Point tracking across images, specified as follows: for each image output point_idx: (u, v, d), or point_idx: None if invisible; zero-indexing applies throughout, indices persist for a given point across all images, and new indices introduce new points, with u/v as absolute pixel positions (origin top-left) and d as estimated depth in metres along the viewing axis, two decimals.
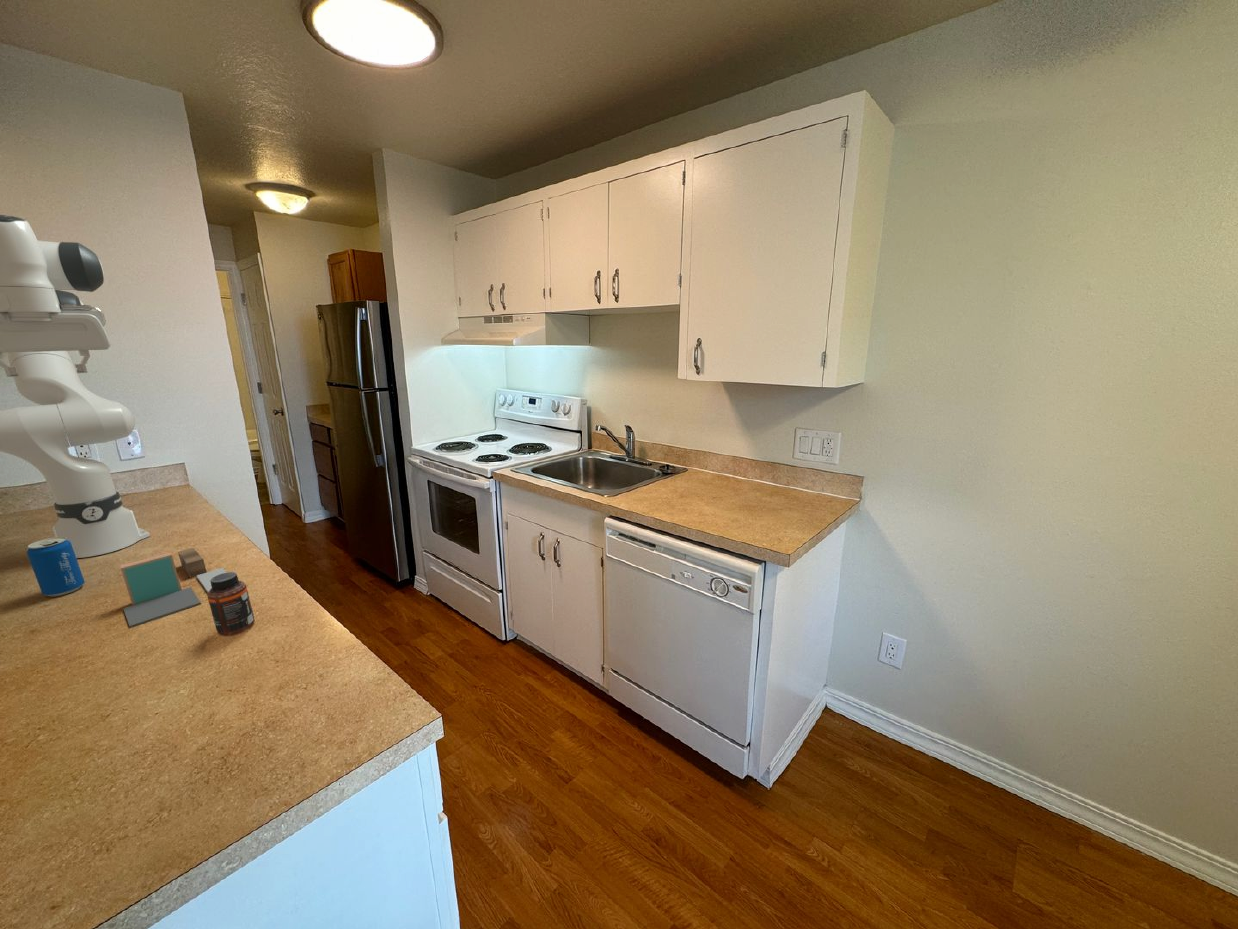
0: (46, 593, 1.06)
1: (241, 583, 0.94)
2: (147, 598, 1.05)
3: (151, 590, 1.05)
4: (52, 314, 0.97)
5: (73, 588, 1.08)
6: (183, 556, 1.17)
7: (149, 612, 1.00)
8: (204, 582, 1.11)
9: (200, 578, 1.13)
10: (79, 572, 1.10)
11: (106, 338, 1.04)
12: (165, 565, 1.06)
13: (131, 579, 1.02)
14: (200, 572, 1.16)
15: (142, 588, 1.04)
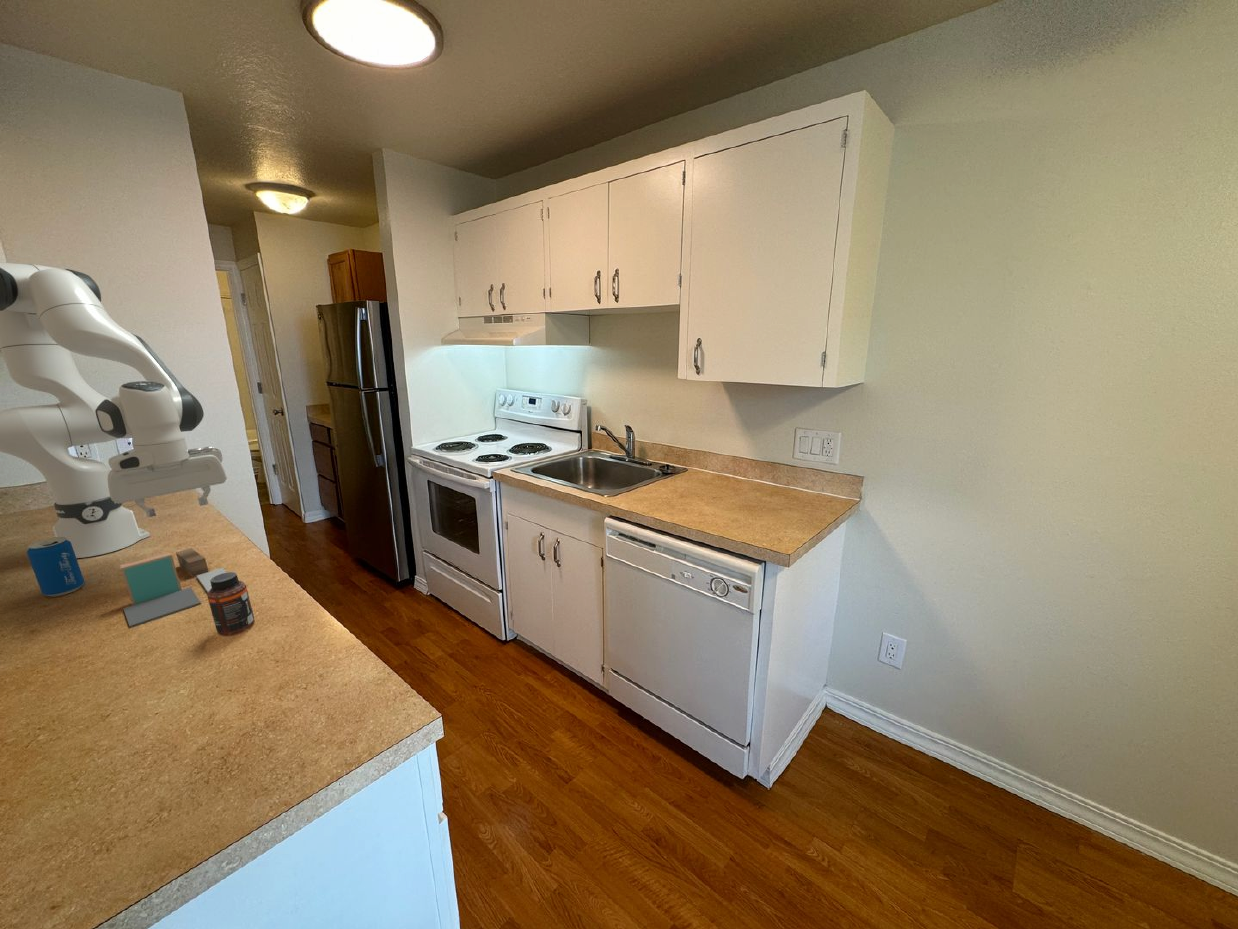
0: (46, 593, 1.06)
1: (241, 583, 0.94)
2: (147, 598, 1.05)
3: (151, 590, 1.05)
4: (183, 460, 1.13)
5: (73, 588, 1.08)
6: (183, 556, 1.17)
7: (149, 612, 1.00)
8: (204, 582, 1.11)
9: (200, 578, 1.13)
10: (79, 572, 1.10)
11: (224, 473, 1.19)
12: (165, 565, 1.06)
13: (131, 579, 1.02)
14: (202, 571, 1.16)
15: (142, 588, 1.04)
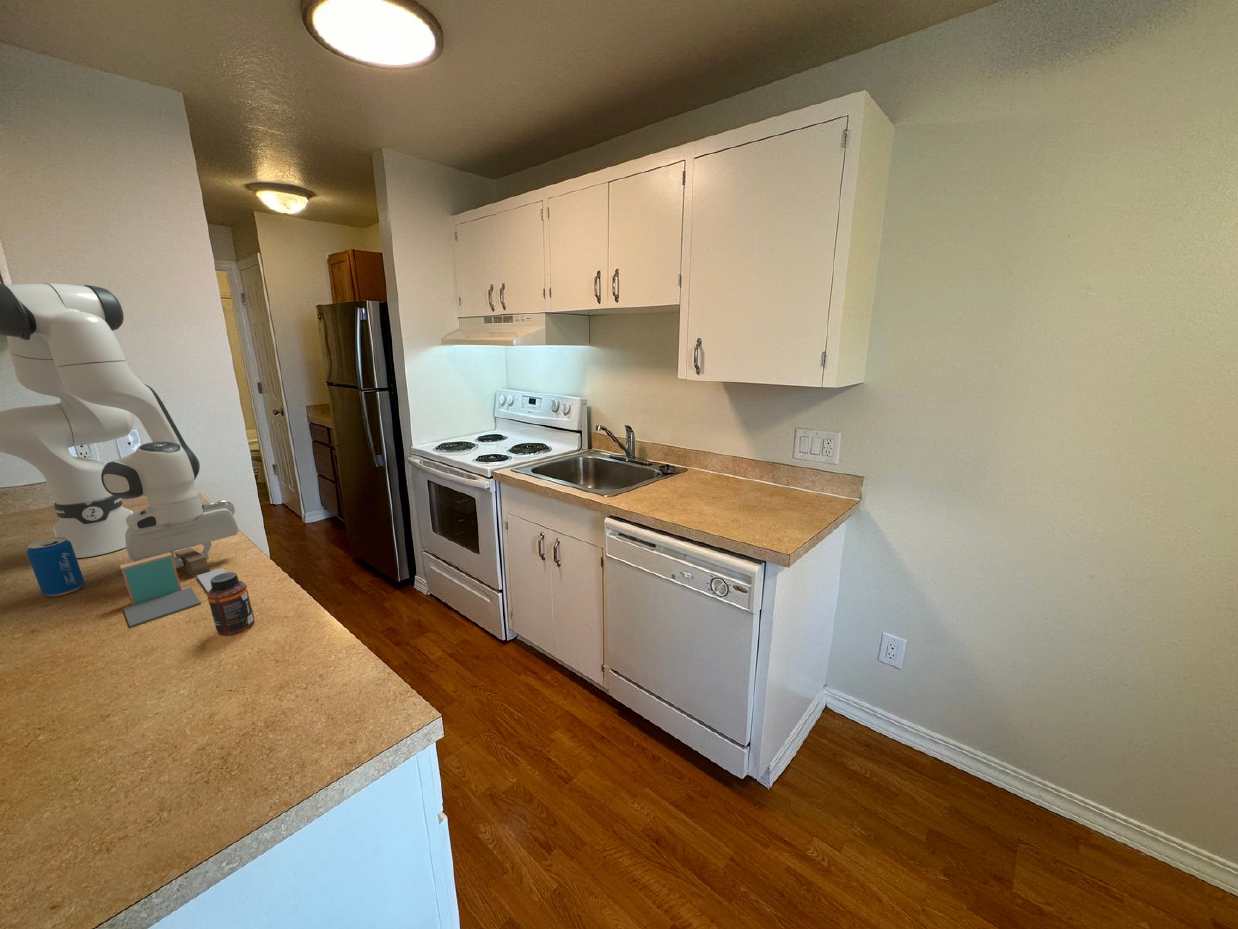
0: (46, 593, 1.06)
1: (241, 583, 0.94)
2: (147, 598, 1.05)
3: (151, 590, 1.05)
4: (197, 516, 1.16)
5: (73, 588, 1.08)
6: (183, 555, 1.17)
7: (149, 612, 1.00)
8: (204, 582, 1.11)
9: (200, 578, 1.13)
10: (79, 572, 1.10)
11: (236, 526, 1.22)
12: (165, 565, 1.06)
13: (131, 579, 1.02)
14: (203, 570, 1.16)
15: (142, 588, 1.04)
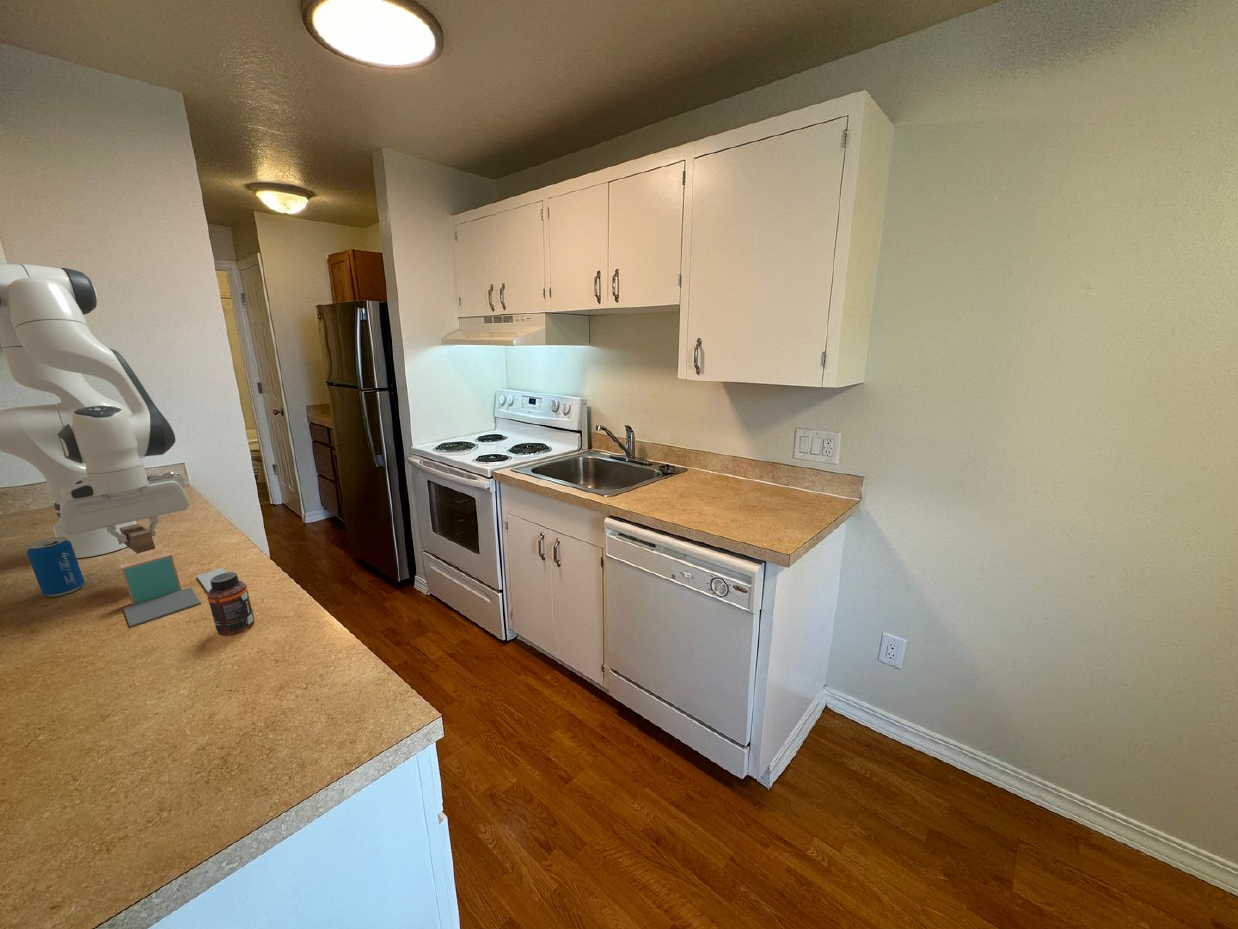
0: (46, 593, 1.06)
1: (241, 583, 0.94)
2: (147, 598, 1.05)
3: (151, 590, 1.05)
4: (142, 487, 1.08)
5: (73, 588, 1.08)
6: (126, 531, 1.08)
7: (149, 612, 1.00)
8: (204, 582, 1.11)
9: (200, 578, 1.13)
10: (79, 572, 1.10)
11: (186, 500, 1.14)
12: (165, 565, 1.06)
13: (131, 579, 1.02)
14: (147, 546, 1.07)
15: (142, 588, 1.04)
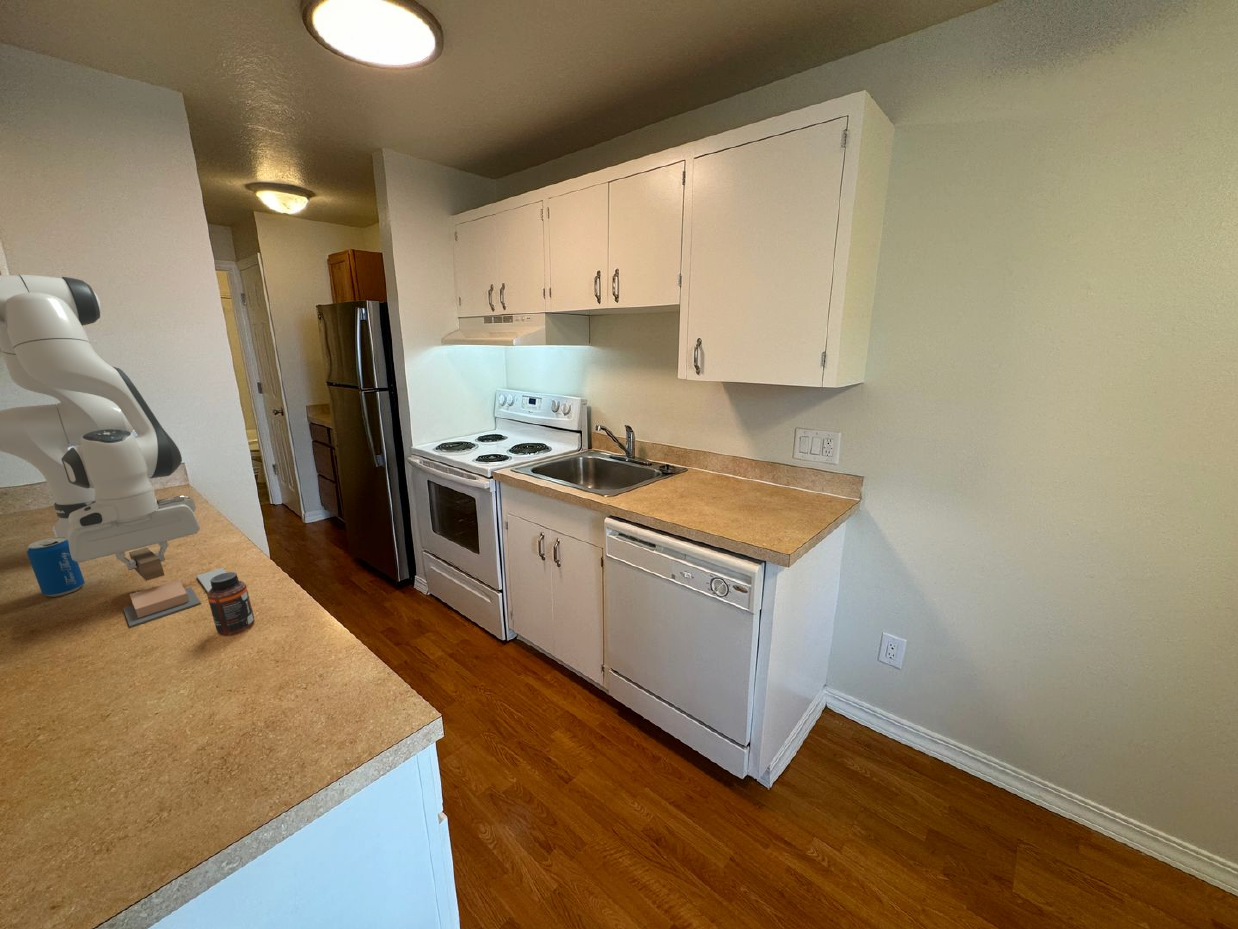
0: (46, 593, 1.06)
1: (241, 583, 0.94)
2: None
3: None
4: (152, 512, 1.05)
5: (73, 588, 1.08)
6: (136, 556, 1.06)
7: None
8: (204, 582, 1.11)
9: (200, 578, 1.13)
10: (79, 572, 1.10)
11: (196, 524, 1.11)
12: None
13: None
14: (156, 573, 1.05)
15: None
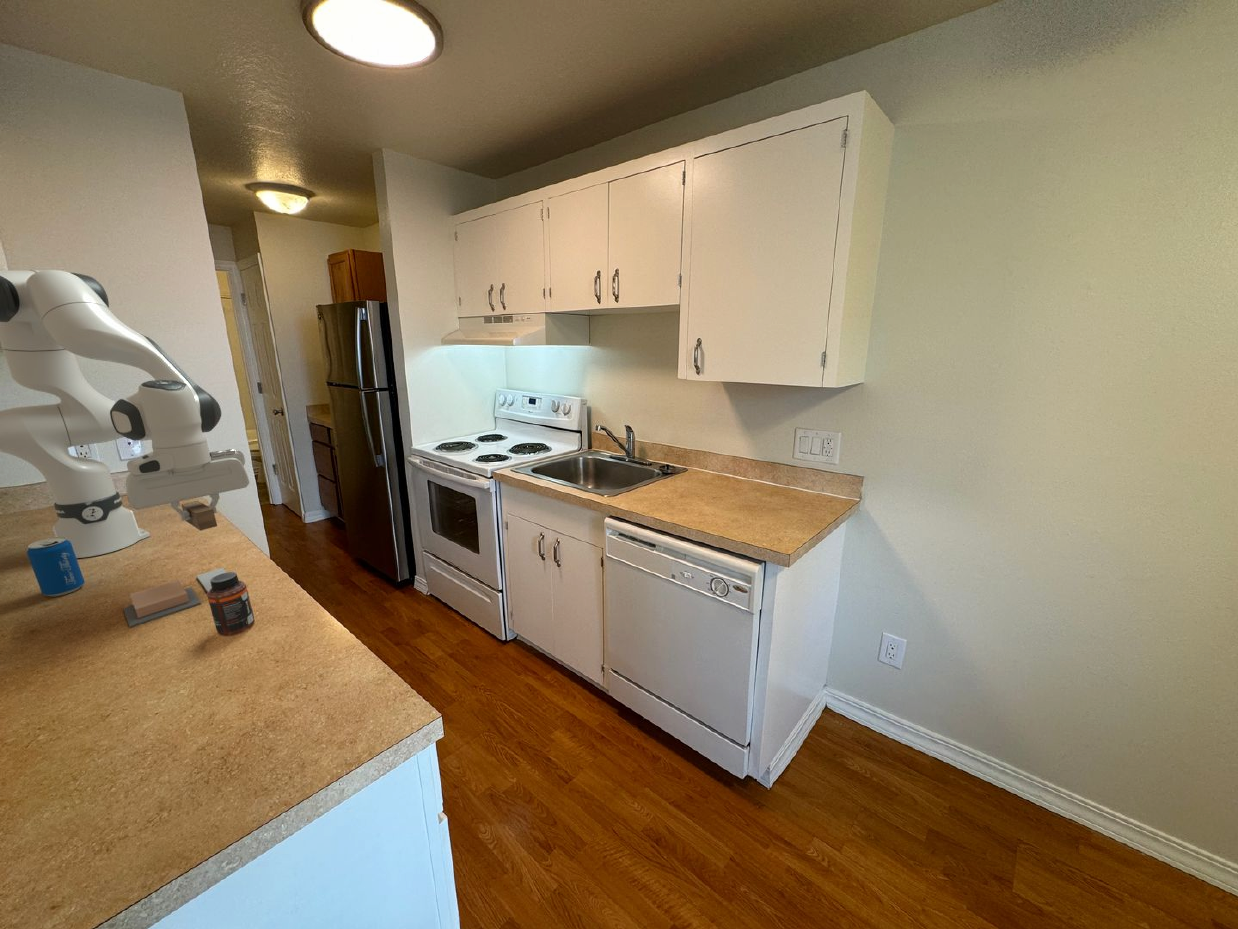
0: (46, 593, 1.06)
1: (241, 583, 0.94)
2: None
3: None
4: (205, 464, 1.06)
5: (73, 588, 1.08)
6: (189, 507, 1.07)
7: None
8: (204, 582, 1.11)
9: (200, 578, 1.13)
10: (79, 572, 1.10)
11: (246, 477, 1.12)
12: None
13: None
14: (210, 523, 1.06)
15: None
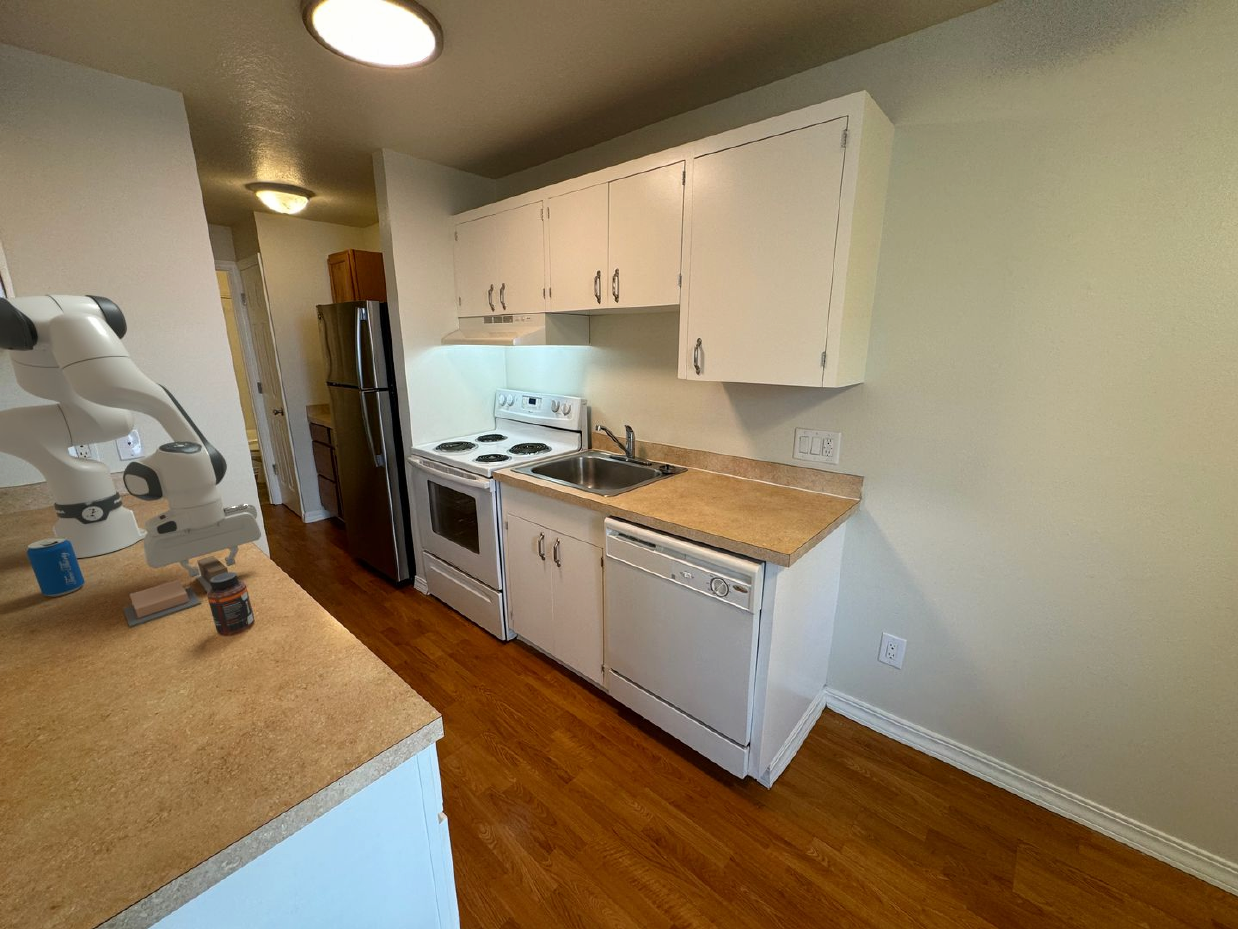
0: (46, 593, 1.06)
1: (241, 583, 0.94)
2: None
3: None
4: (219, 520, 1.10)
5: (73, 588, 1.08)
6: (204, 565, 1.11)
7: None
8: (204, 582, 1.11)
9: (200, 578, 1.13)
10: (79, 572, 1.10)
11: (258, 530, 1.16)
12: None
13: None
14: None
15: None
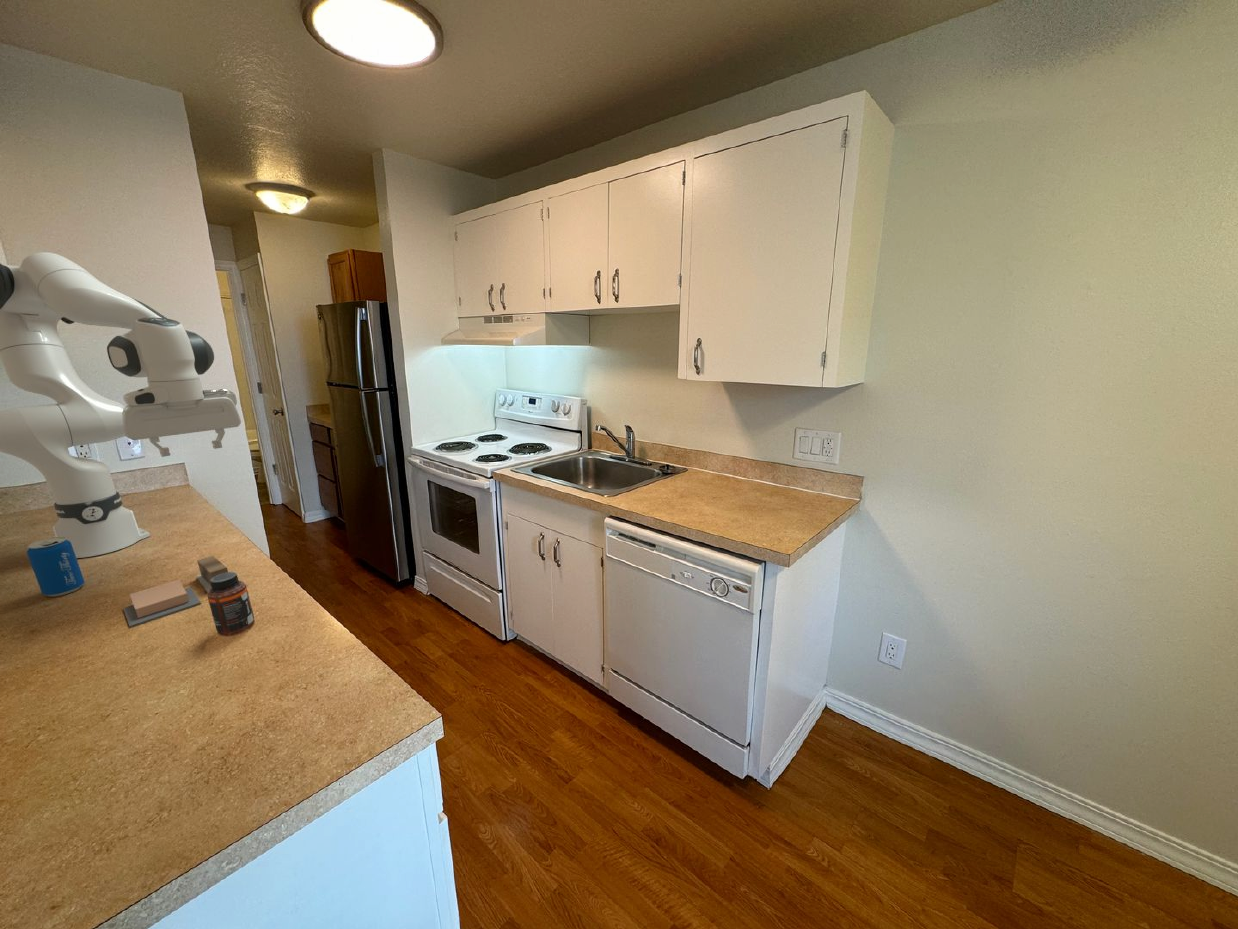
0: (46, 593, 1.06)
1: (241, 583, 0.94)
2: None
3: None
4: (198, 400, 1.11)
5: (73, 588, 1.08)
6: (204, 565, 1.11)
7: None
8: (204, 582, 1.11)
9: (200, 578, 1.13)
10: (79, 572, 1.10)
11: (238, 417, 1.17)
12: None
13: None
14: None
15: None
